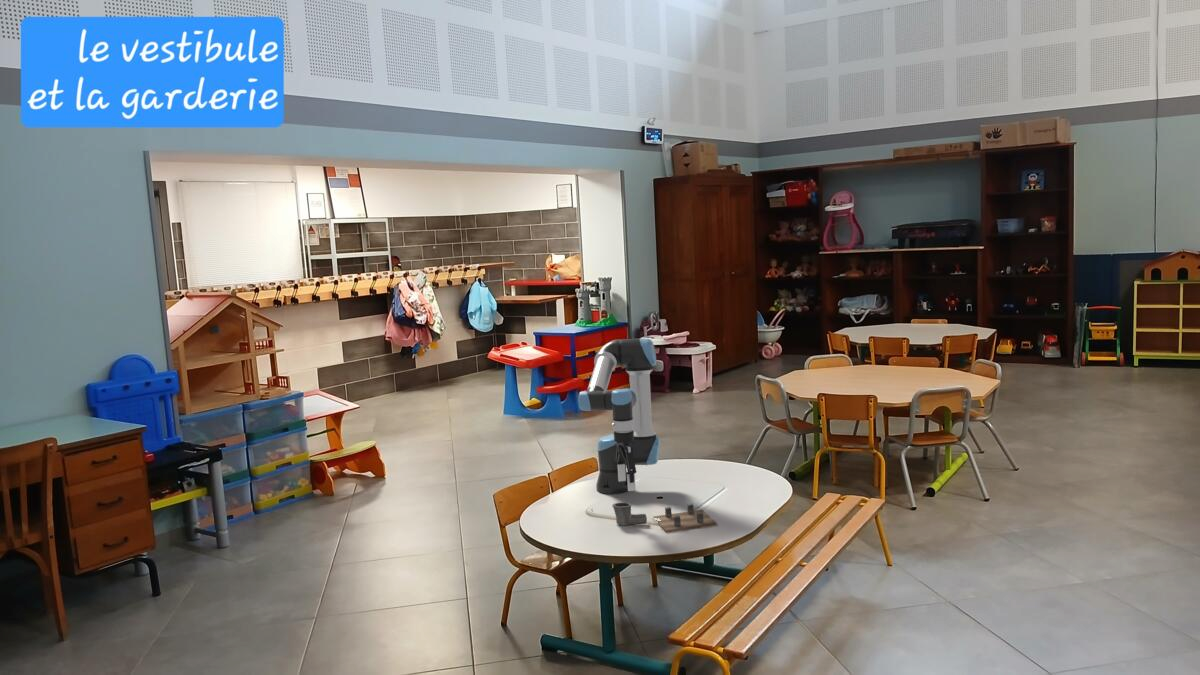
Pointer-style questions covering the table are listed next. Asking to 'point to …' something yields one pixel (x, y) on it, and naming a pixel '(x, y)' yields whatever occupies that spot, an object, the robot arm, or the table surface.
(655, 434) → the robot arm
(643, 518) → the pipe
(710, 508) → the table surface
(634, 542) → the table surface
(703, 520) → the collar cradle
